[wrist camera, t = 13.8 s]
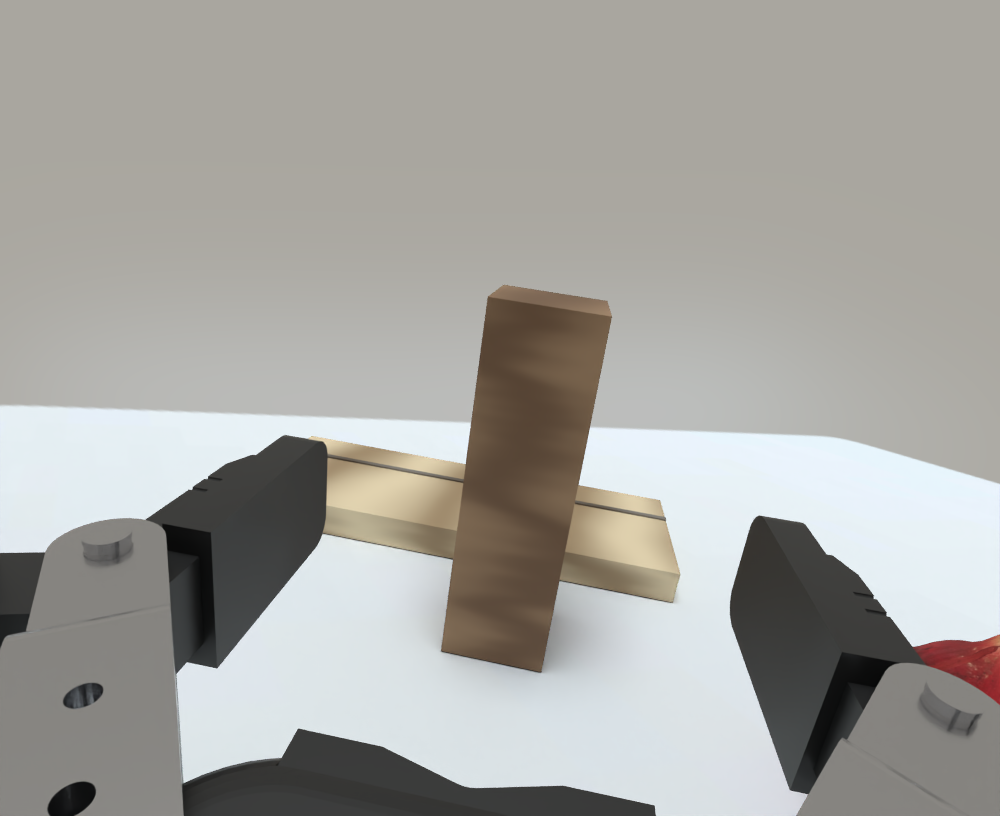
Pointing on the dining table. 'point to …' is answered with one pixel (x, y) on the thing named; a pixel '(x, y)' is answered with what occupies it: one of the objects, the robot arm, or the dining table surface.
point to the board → (436, 505)
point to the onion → (967, 662)
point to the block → (522, 471)
